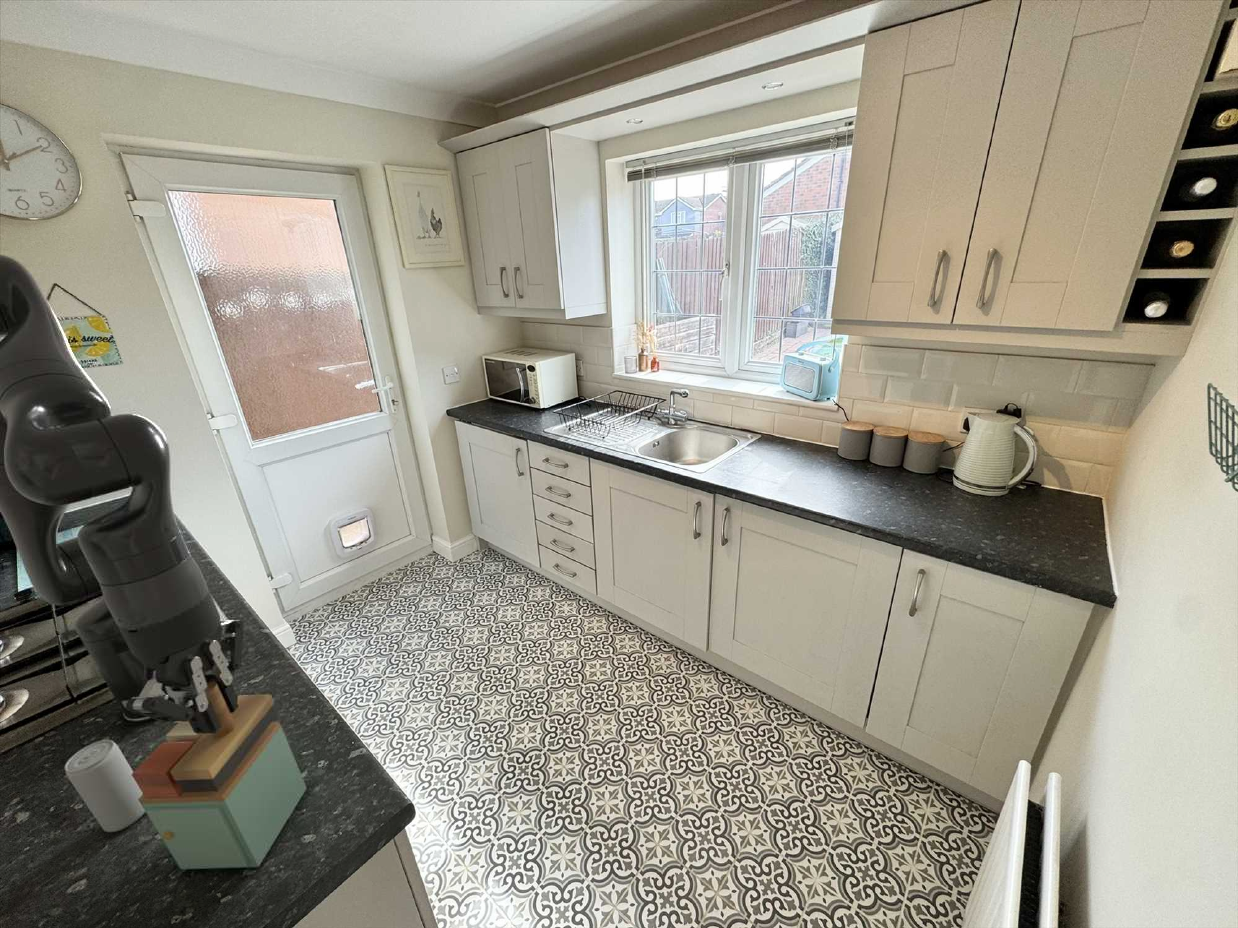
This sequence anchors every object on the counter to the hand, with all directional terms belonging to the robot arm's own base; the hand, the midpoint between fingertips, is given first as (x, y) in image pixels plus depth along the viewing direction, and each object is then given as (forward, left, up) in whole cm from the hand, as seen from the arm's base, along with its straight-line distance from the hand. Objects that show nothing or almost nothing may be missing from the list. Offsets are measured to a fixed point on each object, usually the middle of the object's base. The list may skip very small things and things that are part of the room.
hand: (219, 720), depth 58 cm
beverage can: (-16, -14, -20) cm, 29 cm away
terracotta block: (-2, -6, -6) cm, 9 cm away
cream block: (-6, -3, -6) cm, 9 cm away
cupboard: (-2, -2, -19) cm, 20 cm away
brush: (0, 0, -5) cm, 5 cm away
